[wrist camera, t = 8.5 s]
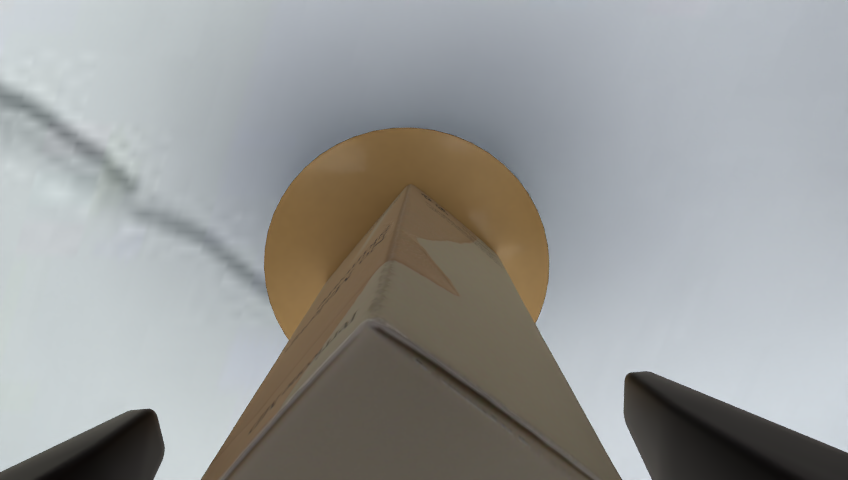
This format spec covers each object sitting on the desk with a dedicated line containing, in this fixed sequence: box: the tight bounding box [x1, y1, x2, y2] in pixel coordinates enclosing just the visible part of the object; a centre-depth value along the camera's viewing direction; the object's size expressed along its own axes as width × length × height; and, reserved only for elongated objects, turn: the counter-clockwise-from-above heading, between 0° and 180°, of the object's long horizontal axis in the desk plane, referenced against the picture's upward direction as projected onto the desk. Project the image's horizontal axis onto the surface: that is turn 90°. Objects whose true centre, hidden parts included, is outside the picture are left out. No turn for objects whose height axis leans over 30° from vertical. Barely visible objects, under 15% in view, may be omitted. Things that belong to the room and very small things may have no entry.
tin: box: [264, 128, 549, 340], centre depth 18 cm, size 10×10×4 cm
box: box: [201, 184, 622, 480], centre depth 11 cm, size 5×4×11 cm
